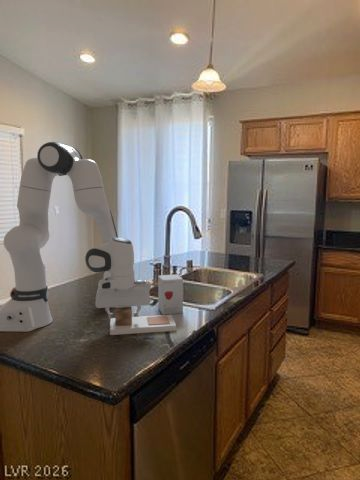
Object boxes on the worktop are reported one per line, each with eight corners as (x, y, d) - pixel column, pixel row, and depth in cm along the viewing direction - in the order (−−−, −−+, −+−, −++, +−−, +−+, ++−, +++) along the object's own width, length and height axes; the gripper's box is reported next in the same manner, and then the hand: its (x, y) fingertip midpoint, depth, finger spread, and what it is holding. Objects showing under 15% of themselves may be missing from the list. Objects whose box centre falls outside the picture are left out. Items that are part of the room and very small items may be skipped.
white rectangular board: (109, 335, 132) (109, 329, 132) (110, 323, 144) (110, 318, 144) (176, 330, 136) (176, 325, 136) (171, 319, 148) (171, 314, 148)
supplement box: (162, 315, 153) (162, 280, 151) (157, 308, 161) (157, 275, 159) (183, 313, 155) (183, 278, 153) (178, 306, 164) (177, 273, 162)
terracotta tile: (148, 325, 136) (148, 324, 136) (146, 317, 144) (146, 317, 144) (169, 323, 138) (169, 323, 137) (167, 316, 145) (167, 315, 145)
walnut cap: (115, 326, 135) (115, 310, 134) (115, 320, 141) (115, 305, 140) (132, 325, 136) (131, 309, 135) (131, 319, 142) (131, 304, 141)
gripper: (150, 278, 141) (150, 313, 143) (95, 280, 138) (96, 316, 140) (151, 282, 135) (151, 318, 137) (94, 284, 132) (95, 322, 134)
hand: (123, 317), depth 138 cm, fingers open, 8 cm apart
